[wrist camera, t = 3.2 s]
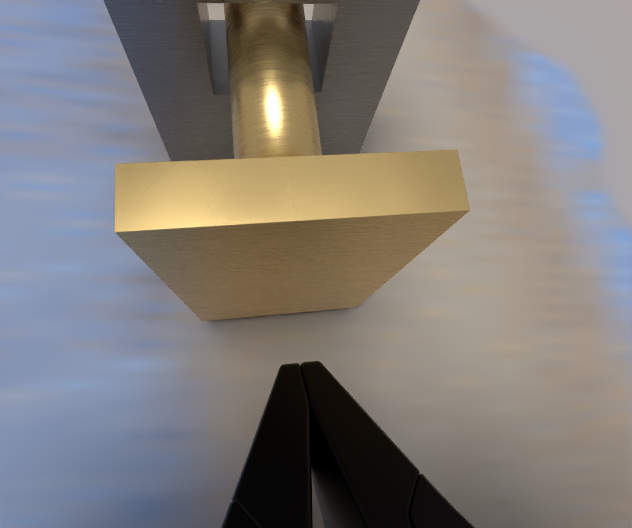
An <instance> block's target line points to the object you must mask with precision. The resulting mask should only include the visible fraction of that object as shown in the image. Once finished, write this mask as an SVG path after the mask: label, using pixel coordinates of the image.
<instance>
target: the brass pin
mask: <svg viewBox="0 0 632 528" xmlns="http://www.w3.org/2000/svg"><path fill="white" fill-rule="evenodd" d="M224 12H225V27H226V42H227V57H228V72H229V87H230V102H231V118H232V133H233V148H234V159H221V160H197V161H173V162H149V163H125V164H116V169H115V233H116V234H117V235H118V236H119V237H120V238H121V239H122V240H123V241H124V242H125V243H126V244H127V245H128V246H129V247H130V248H131V249H132V250H133V251H134V252H135V253H136V254H137V255H138V256H139V257H140V258H141V259H142V260H143V261H144V262H145V263H146V264H147V265H148V266H149V267H150V268H151V269H152V270H153V271H154V272H155V273H156V274H157V276H158V277H159V278H160V279H161V280H162V281H163V282H164V283H165V284H166V285H167V286H168V287H169V288H170V289H171V290H172V291H173V292H174V293H175V294H176V295H177V296H178V297H179V298H180V299H181V300H182V301H183V302H184V303H185V304H186V305H187V306H188V307H189V308H190V309H191V310H192V311H193V312H194V313H195V314H196V315H197V316H198V317H199V318H200V319H201V320H202V321H209V320H220V319H232V318H243V317H254V316H265V315H276V314H287V313H298V312H309V311H320V310H331V309H343V308H354V307H358V306H359V305H360V304H361V303H362V302H364V301H365V300H366V299H367V298H368V297H369V296H371V295H372V294H373V293H374V292H375V291H376V290H378V289H379V288H380V287H381V286H382V285H383V284H385V283H386V282H387V281H388V280H389V279H390V278H392V277H393V276H394V275H395V274H396V273H397V272H399V271H400V270H401V269H402V268H403V267H404V266H406V265H407V264H408V263H409V262H410V261H411V260H413V259H414V258H415V257H416V256H417V255H418V254H420V253H421V252H422V251H423V250H424V249H425V248H427V247H428V246H429V245H430V244H431V243H432V242H434V241H435V240H436V239H437V238H438V237H439V236H441V235H442V234H443V233H444V232H445V231H446V230H448V229H449V228H450V227H451V226H452V225H453V224H455V223H456V222H457V221H458V220H459V219H460V218H462V217H463V216H464V215H465V214H466V213H467V212H469V211H470V207H469V203H468V198H467V193H466V189H465V184H464V179H463V174H462V170H461V165H460V160H459V156H458V151H457V150H439V151H415V152H390V153H366V154H342V155H322V152H321V144H320V136H319V128H318V120H317V112H316V104H315V96H314V88H313V80H312V71H311V63H310V55H309V47H308V39H307V31H306V23H305V15H304V7H303V4H278V3H224Z"/></svg>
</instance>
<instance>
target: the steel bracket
mask: <svg viewBox="0 0 632 528" xmlns="http://www.w3.org/2000/svg"><path fill="white" fill-rule="evenodd" d="M419 1H420V0H104V2H105V5H106V7H107V9H108V12H109V14H110V17H111V19H112V21H113V24H114V26H115V28H116V31H117V33H118V36H119V38H120V40H121V43H122V45H123V47H124V50H125V52H126V55H127V57H128V59H129V62H130V64H131V66H132V69H133V71H134V74H135V76H136V78H137V81H138V83H139V86H140V88H141V90H142V93H143V95H144V97H145V100H146V102H147V105H148V107H149V109H150V112H151V114H152V116H153V119H154V121H155V124H156V126H157V128H158V131H159V133H160V135H161V138H162V140H163V143H164V145H165V147H166V150H167V152H168V154H169V157H170V159H171V162H173V161H197V160H221V159H234V148H233V133H232V118H231V102H230V87H229V72H228V57H227V42H226V27H225V20H209V15H208V8H207V3H278V4H314V8H313V16H312V20H305V23H306V31H307V39H308V47H309V55H310V63H311V71H312V80H313V88H314V96H315V104H316V112H317V120H318V128H319V136H320V144H321V152H322V155H342V154H359V151H360V149H361V146H362V144H363V141H364V139H365V136H366V134H367V131H368V129H369V126H370V124H371V121H372V119H373V116H374V114H375V111H376V109H377V106H378V104H379V101H380V99H381V96H382V94H383V91H384V89H385V86H386V84H387V81H388V79H389V76H390V74H391V71H392V69H393V66H394V64H395V61H396V59H397V56H398V54H399V51H400V49H401V46H402V44H403V41H404V39H405V36H406V34H407V31H408V29H409V26H410V24H411V21H412V19H413V16H414V14H415V11H416V9H417V6H418V4H419Z"/></svg>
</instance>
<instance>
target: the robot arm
mask: <svg viewBox="0 0 632 528" xmlns="http://www.w3.org/2000/svg"><path fill="white" fill-rule="evenodd" d="M311 473H312V476H311ZM419 473H420V472H419V470H418V469H417V468H416V467H415V466H414V464H413V463H412V462H411V461H410V460H409V459H408V458H407V457H406V456H405V455H404V453H403V452H402V451H401V450H400V449H399V448H398V447H397V446H396V445H395V444H394V442H393V441H392V440H391V439H390V438H389V437H388V436H387V435H386V434H385V433H384V431H383V430H382V429H381V428H380V427H379V426H378V425H377V424H376V423H375V422H374V420H373V419H372V418H371V417H370V416H369V415H368V414H367V413H366V412H365V411H364V410H363V408H362V407H361V406H360V405H359V404H358V403H357V402H356V401H355V400H354V399H353V397H352V396H351V395H350V394H349V393H348V392H347V391H346V390H345V389H344V388H343V386H342V385H341V384H340V383H339V382H338V381H337V380H336V379H335V378H334V377H333V375H332V374H331V373H330V372H329V371H328V370H327V369H326V368H325V367H324V366H323V364H322V363H321V362H319V361H313V362H303V363H302V364H301V365H299V364H298V363H293V364H284V365H281V367H280V368H279V371H278V374H277V377H276V379H275V382H274V385H273V388H272V390H271V393H270V396H269V399H268V401H267V404H266V407H265V410H264V412H263V415H262V418H261V421H260V423H259V426H258V429H257V432H256V434H255V437H254V440H253V443H252V445H251V448H250V451H249V454H248V456H247V459H246V462H245V465H244V467H243V470H242V473H241V476H240V478H239V481H238V484H237V487H236V489H235V492H234V495H233V498H232V502H231V503H230V505H229V508H228V511H227V513H226V516H225V519H224V522H223V524H222V527H221V528H313V523H312V478H313V482H314V486H315V490H316V493H317V497H318V501H319V505H320V509H321V513H322V517H323V521H324V525H325V528H475V527H474V526H473V525H471V524H470V523H469V522H468V521H467V520H466V519H465V518H464V517H463V516H462V515H461V514H460V513H459V512H458V511H457V510H456V509H455V508H454V507H453V506H452V505H451V504H450V503H449V502H448V501H447V500H446V499H445V498H444V497H443V496H442V495H441V494H440V493H439V492H438V491H437V490H436V489H435V487H434V486H433V485H432V484H431V483H430V482H429V481H428V480H427V479H426V477H425V476H424V475H423V474H420V475H419Z"/></svg>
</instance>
